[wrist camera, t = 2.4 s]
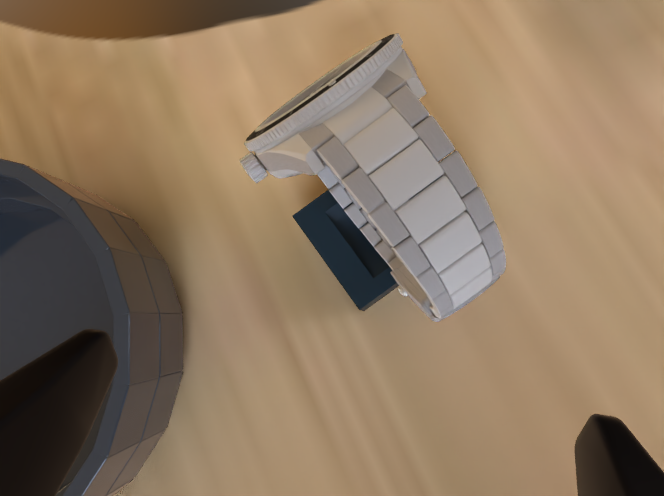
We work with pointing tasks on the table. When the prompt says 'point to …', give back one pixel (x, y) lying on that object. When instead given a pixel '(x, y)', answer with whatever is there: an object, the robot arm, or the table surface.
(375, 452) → the table surface
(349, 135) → the watch
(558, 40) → the table surface
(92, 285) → the bowl
